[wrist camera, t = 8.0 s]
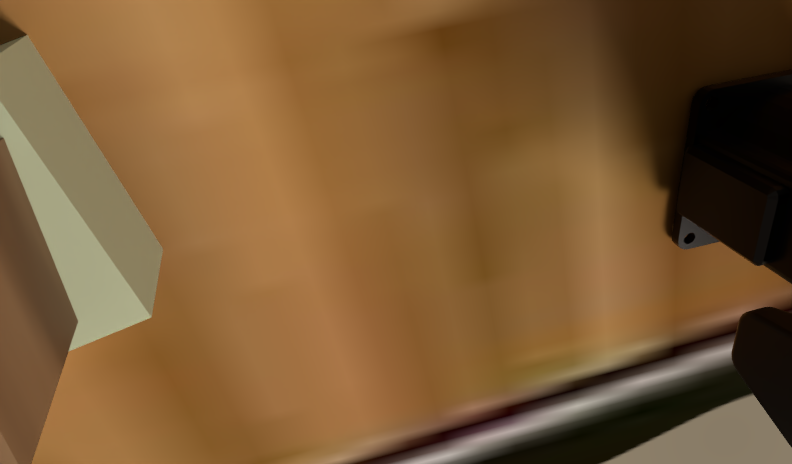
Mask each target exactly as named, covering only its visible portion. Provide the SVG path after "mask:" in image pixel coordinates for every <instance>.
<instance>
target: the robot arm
mask: <svg viewBox="0 0 792 464" xmlns="http://www.w3.org/2000/svg"><path fill="white" fill-rule="evenodd" d="M710 97H711V100H710V102H709V103H708V105H707V106H706V102H707V100H708V99H709V98H710ZM687 234H688V235H687ZM686 235H687V236H686ZM685 236H686V237H685ZM672 241H673V242H674V243H675V244H676V245H677V246H679V247H680V248H682V249H690V248H694V247H699V246H703V245H707V244H711V243H715V242H719V241H720V242H722V243H723V244H724V245H726V246H727V247H729V248H730V249H732V250H733V251H735V252H736V253H738V254H739V255H741V256H742V257H744V258H745V259H747V260H748V261H750V262H751V263H753V264H754V265H757V266H760V265H764V266H766V267H767V268H769V269H770V270H772V271H773V272H775V273H776V274H778V275H779V276H781V277H782V278H784V279H785V280H787V281H788V282H790V283H791V284H792V70H788V71H783V72H778V73H772V74H767V75H762V76H757V77H752V78H746V79H741V80H736V81H731V82H725V83H720V84H715V85H710V86H706V87H703V88H701V89H700V90H699V91H698V92H697V93H696V94H695V96H694V97H693V101H692V105H691V112H690V119H689V125H688V132H687V139H686V145H685V152H684V159H683V165H682V172H681V179H680V185H679V192H678V199H677V205H676V212H675V219H674V225H673V232H672ZM732 361H733V364H734V366H735V368H736V370H737V372H738V373H739V374H740V376H741V377H742V379H743V380H744V381H745V383H746V384H747V386H748V387H749V388H750V390H751V391H752V393H753V394H754V395H755V397H756V398H757V400H758V401H759V402H760V404H761V405H762V407H763V408H764V410H765V411H766V412H767V414H768V415H769V417H770V418H771V419H772V421H773V422H774V423H775V425H776V426H777V428H778V429H779V431H780V432H781V433H782V434H783V436H784V438H785V439H786V440H787V442H788V443H789V445H790V446H791V447H792V313H789V312H786V311H783V310H780V309H777V308H773V307H764V308H760V309H756V310H752V311H749V312H746V313H744V314H743V315H742V316H741V317H740V320H739V323H738V328H737V332H736V336H735V340H734V345H733V349H732Z"/></svg>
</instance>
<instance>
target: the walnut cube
mask: <svg viewBox="0 0 792 464" xmlns="http://www.w3.org/2000/svg"><path fill="white" fill-rule="evenodd" d="M77 324H78V319H77V317H76V315H75V312H74V310H73V307H72V305H71V302H70V300H69V297H68V295H67V292H66V290H65V287H64V285H63V283H62V280H61V278H60V275H59V273H58V270H57V268H56V265H55V263H54V260H53V258H52V255H51V253H50V251H49V248H48V246H47V243H46V241H45V238H44V236H43V233H42V231H41V228H40V226H39V223H38V221H37V219H36V216H35V214H34V211H33V209H32V206H31V204H30V201H29V199H28V196H27V194H26V191H25V189H24V187H23V184H22V182H21V179H20V177H19V174H18V172H17V169H16V167H15V164H14V162H13V159H12V157H11V155H10V152H9V150H8V147H7V145H6V142H5V140H4V138H0V464H31V463H32V460H33V457H34V454H35V451H36V448H37V445H38V442H39V439H40V436H41V433H42V430H43V427H44V424H45V421H46V418H47V415H48V412H49V409H50V406H51V403H52V400H53V396H54V393H55V390H56V387H57V384H58V381H59V378H60V375H61V372H62V369H63V366H64V363H65V360H66V357H67V354H68V351H69V348H70V345H71V342H72V339H73V336H74V333H75V330H76V327H77Z"/></svg>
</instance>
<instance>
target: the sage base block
mask: <svg viewBox="0 0 792 464" xmlns="http://www.w3.org/2000/svg"><path fill="white" fill-rule="evenodd" d="M0 138H4V140H5V142H6V145H7V147H8V150H9V152H10V155H11V157H12V159H13V162H14V164H15V167H16V169H17V172H18V174H19V177H20V179H21V182H22V184H23V187H24V189H25V191H26V194H27V196H28V199H29V201H30V204H31V206H32V209H33V211H34V214H35V216H36V219H37V221H38V223H39V226H40V228H41V231H42V233H43V236H44V238H45V241H46V243H47V246H48V248H49V251H50V253H51V255H52V258H53V260H54V263H55V265H56V268H57V270H58V273H59V275H60V278H61V280H62V283H63V285H64V287H65V290H66V292H67V295H68V297H69V300H70V302H71V305H72V307H73V310H74V312H75V315H76V317H77V319H78V324H77V327H76V330H75V333H74V336H73V339H72V342H71V345H70V348H69V351H71V350H73V349H75V348H78V347H80V346H83V345H85V344H88V343H90V342H93V341H95V340H97V339H100V338H102V337H105V336H107V335H110V334H112V333H114V332H117V331H119V330H122V329H124V328H127V327H129V326H131V325H134V324H136V323H139V322H141V321H144V320H146V319H149V318H151V317H152V311H153V305H154V299H155V293H156V287H157V281H158V276H159V270H160V264H161V258H162V252H163V248H162V247H161V245H160V244H159V242H158V240H157V239H156V237H155V236H154V234H153V232H152V231H151V229H150V228H149V226H148V225H147V223H146V221H145V220H144V218H143V217H142V215H141V214H140V212H139V210H138V209H137V207H136V206H135V204H134V202H133V201H132V199H131V198H130V196H129V195H128V193H127V191H126V190H125V188H124V187H123V185H122V184H121V182H120V180H119V179H118V177H117V176H116V174H115V173H114V171H113V169H112V168H111V166H110V165H109V163H108V161H107V160H106V158H105V157H104V155H103V154H102V152H101V150H100V149H99V147H98V146H97V144H96V143H95V141H94V139H93V138H92V136H91V135H90V133H89V132H88V130H87V128H86V127H85V125H84V124H83V122H82V120H81V119H80V117H79V116H78V114H77V113H76V111H75V109H74V108H73V106H72V105H71V103H70V102H69V100H68V98H67V97H66V95H65V94H64V92H63V90H62V89H61V87H60V86H59V84H58V83H57V81H56V79H55V78H54V76H53V75H52V73H51V72H50V70H49V68H48V67H47V65H46V64H45V62H44V61H43V59H42V57H41V56H40V54H39V53H38V51H37V49H36V48H35V46H34V45H33V43H32V42H31V40H30V38H29V37H28V35H26V36H23V37H20V38H18V39H15V40H12V41H10V42H7V43H4V44H2V45H0Z"/></svg>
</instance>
